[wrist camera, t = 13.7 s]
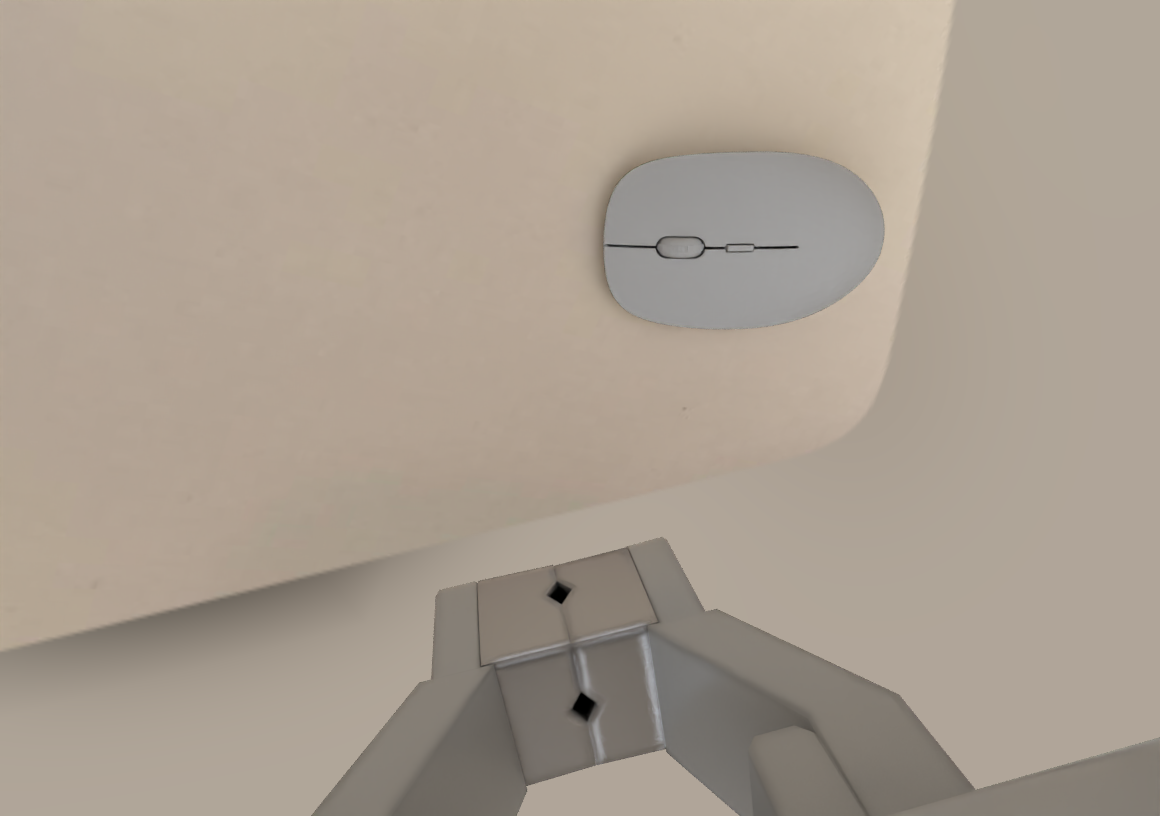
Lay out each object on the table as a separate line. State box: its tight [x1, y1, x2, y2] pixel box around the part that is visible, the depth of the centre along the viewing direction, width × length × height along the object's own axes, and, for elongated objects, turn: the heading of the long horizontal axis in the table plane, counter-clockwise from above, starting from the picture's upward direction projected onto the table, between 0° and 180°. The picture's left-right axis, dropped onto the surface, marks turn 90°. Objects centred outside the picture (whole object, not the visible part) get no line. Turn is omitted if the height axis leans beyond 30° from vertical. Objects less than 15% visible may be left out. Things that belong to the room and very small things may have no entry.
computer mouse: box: [603, 152, 884, 329], centre depth 24 cm, size 6×10×3 cm, turn 91°
